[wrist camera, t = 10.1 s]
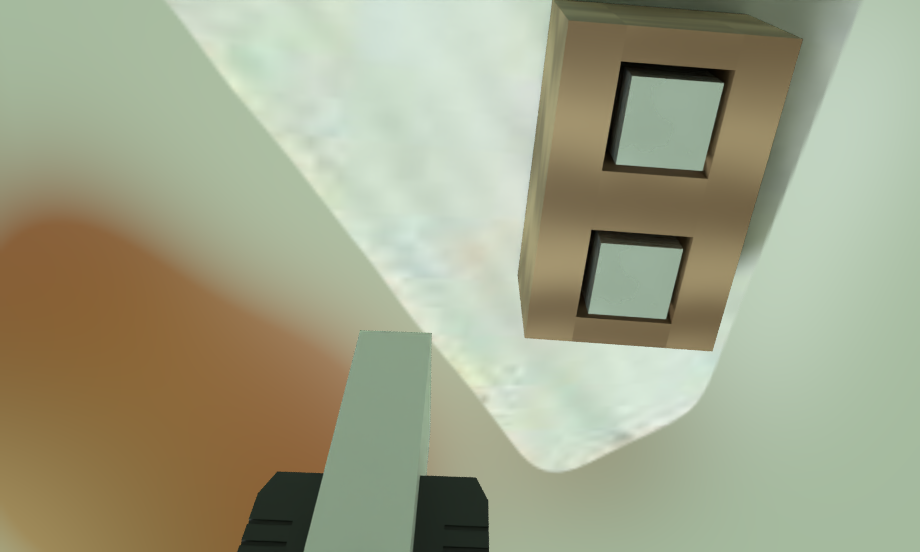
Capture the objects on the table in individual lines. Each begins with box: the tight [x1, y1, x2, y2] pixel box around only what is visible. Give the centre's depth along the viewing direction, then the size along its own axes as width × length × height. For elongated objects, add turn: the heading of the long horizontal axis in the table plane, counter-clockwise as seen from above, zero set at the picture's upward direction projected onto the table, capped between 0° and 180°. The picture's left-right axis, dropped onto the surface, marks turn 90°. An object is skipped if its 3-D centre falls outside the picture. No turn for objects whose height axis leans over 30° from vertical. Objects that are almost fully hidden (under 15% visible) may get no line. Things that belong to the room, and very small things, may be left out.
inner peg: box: [606, 61, 724, 171], centre depth 34 cm, size 4×4×6 cm
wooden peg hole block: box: [518, 0, 803, 351], centre depth 37 cm, size 16×10×7 cm, turn 176°
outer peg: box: [581, 230, 683, 319], centre depth 38 cm, size 4×4×6 cm
